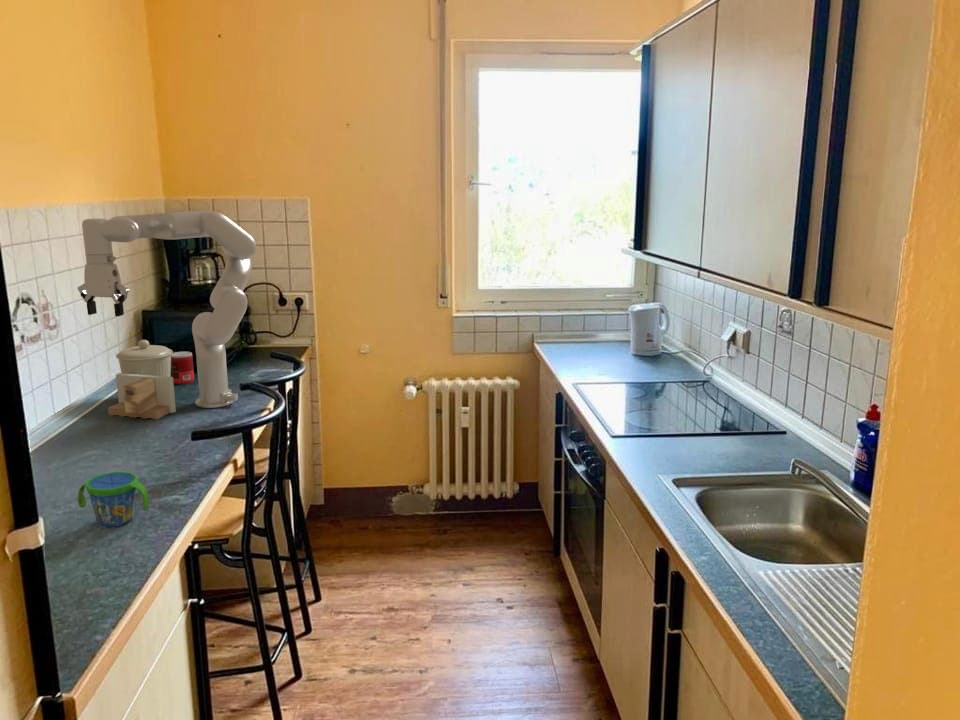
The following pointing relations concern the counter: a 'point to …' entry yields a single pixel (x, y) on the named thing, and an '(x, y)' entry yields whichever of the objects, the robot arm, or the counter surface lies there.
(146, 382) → the oak box
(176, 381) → the canned food
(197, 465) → the counter surface
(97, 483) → the snack cup
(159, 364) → the canister
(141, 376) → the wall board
